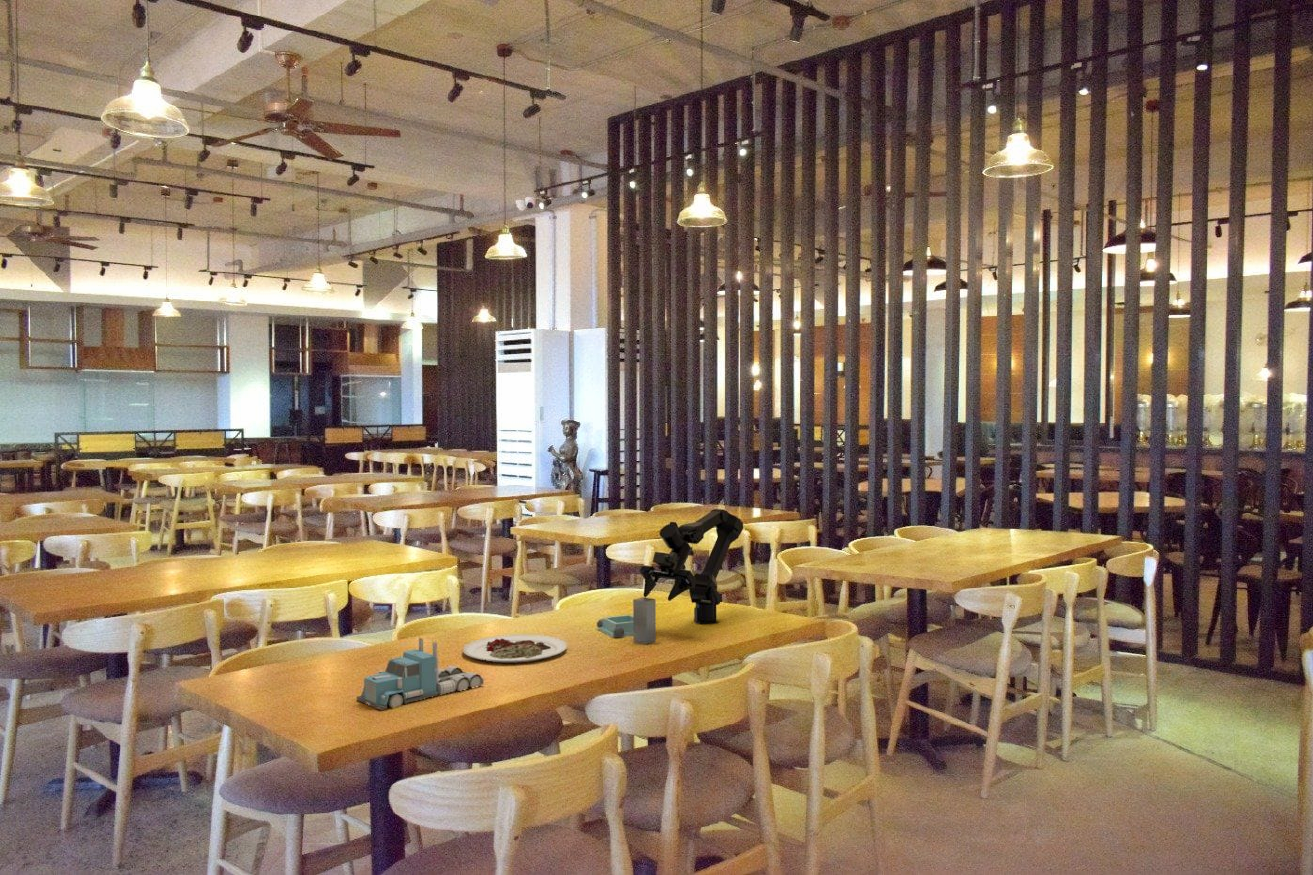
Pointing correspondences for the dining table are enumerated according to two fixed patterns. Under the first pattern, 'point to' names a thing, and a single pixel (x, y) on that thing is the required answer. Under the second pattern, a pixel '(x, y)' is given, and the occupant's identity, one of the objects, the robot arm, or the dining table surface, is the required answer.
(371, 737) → the dining table surface
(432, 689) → the truck
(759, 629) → the dining table surface
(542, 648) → the plated food
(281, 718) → the dining table surface
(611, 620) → the chassis
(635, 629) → the grey upright pillar
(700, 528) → the robot arm
